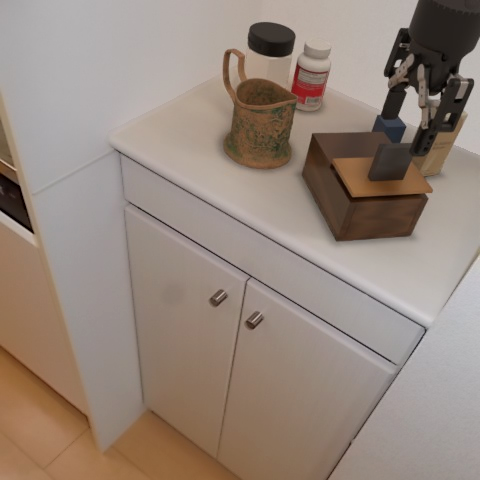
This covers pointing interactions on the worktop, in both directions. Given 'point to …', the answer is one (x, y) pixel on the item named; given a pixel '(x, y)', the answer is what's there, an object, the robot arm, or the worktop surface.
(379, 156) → the slide door
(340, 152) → the walnut box
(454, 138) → the box
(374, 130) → the block
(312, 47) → the pill bottle
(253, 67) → the jar
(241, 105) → the brown green pitcher
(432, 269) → the worktop surface
